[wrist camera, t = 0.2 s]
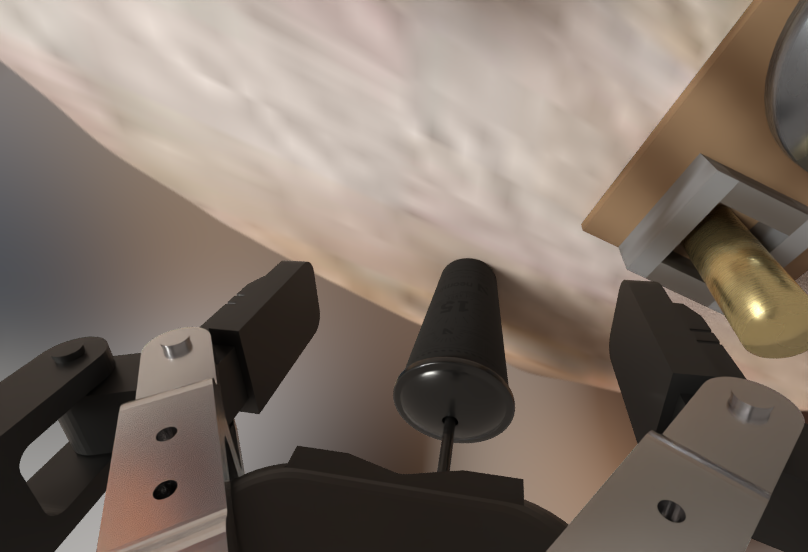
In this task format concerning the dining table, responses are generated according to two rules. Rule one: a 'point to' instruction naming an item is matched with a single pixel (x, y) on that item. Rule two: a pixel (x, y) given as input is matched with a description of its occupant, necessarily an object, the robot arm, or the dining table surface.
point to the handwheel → (790, 88)
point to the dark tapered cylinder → (458, 363)
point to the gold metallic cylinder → (749, 286)
